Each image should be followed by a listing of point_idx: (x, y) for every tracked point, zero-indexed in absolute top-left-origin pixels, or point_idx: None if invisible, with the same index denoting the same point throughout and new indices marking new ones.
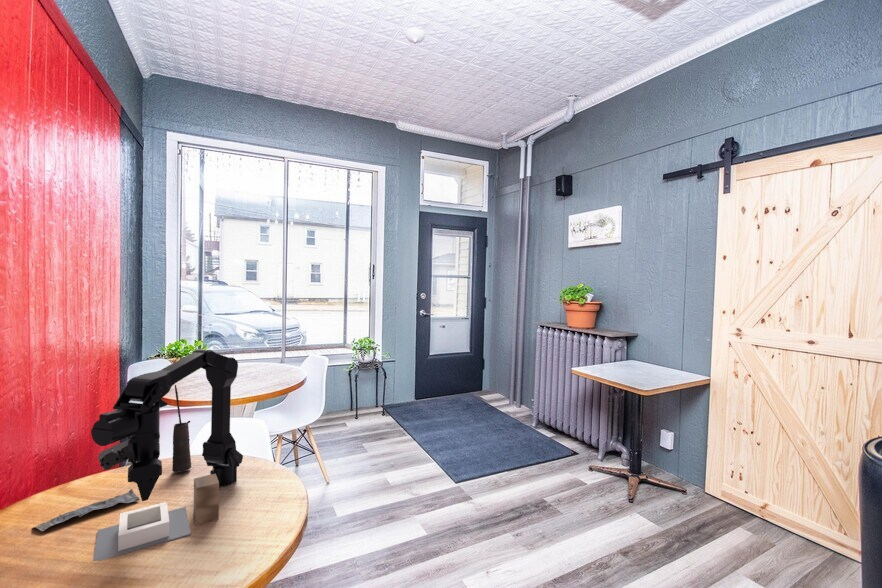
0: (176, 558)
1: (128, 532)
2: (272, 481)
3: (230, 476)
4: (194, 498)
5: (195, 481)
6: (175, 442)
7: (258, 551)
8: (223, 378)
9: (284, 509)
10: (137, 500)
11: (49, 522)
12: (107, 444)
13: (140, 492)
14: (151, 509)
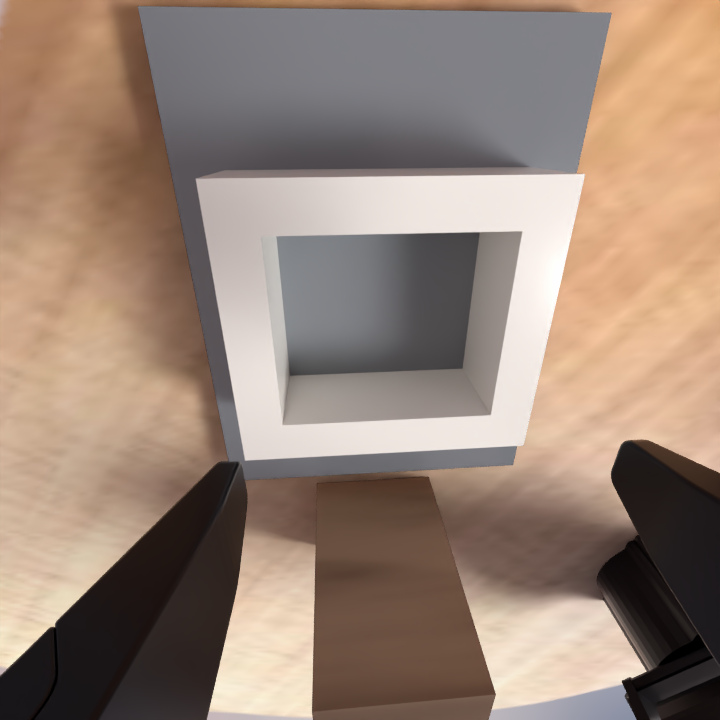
0: (81, 419)
1: (215, 249)
2: (500, 676)
3: (620, 622)
4: (419, 569)
5: (434, 702)
6: None
7: (31, 627)
8: None
9: (275, 687)
10: None
11: None
12: None
13: (112, 578)
14: (495, 368)
